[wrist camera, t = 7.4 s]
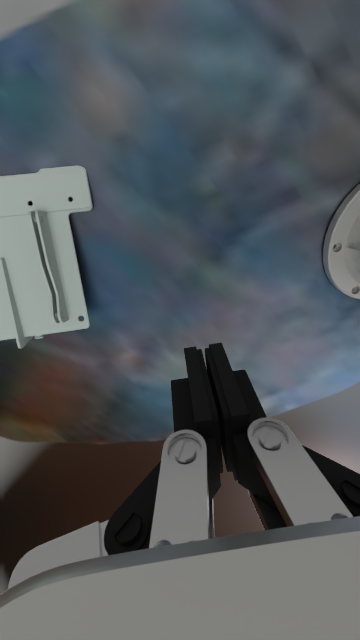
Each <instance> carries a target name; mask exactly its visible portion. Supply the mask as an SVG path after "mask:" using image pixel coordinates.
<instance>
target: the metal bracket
mask: <svg viewBox="0 0 360 640" xmlns="http://www.w3.org/2000/svg"><path fill="white" fill-rule="evenodd" d="M70 197H72V198H73V201H72V202H69V198H70ZM30 201H32V202H33V205H32V206H29V202H30ZM92 208H93V205H92V199H91V194H90V188H89V182H88V177H87V172H86V170H85V168H83V167H81V166H68V167H57V168H46V169H40V170H39V172H37V173H30V174H20V175H9V176H0V340H6V339H14V338H16V341H17V345H18V348H23V347H24V346H25V345H26V344H27V343H28V342H29V341H30V340H31V339H32V338H33V337H34V336H36V337H35V339H39V338H43V337H45V336H44V335H43V334H50V333H57V332H64V331H72V330H79V329H86V328H88V327H89V326H90V323H89V317H88V312H87V307H86V302H85V297H84V292H83V287H82V282H81V277H80V272H79V267H78V262H77V257H76V251H75V246H74V241H73V236H72V231H71V226H70V221H69V215H70V214H71V213H74V212H84V211H90V210H92ZM79 316H83V317H84V321H80V320H79V319H78V318H79Z"/></svg>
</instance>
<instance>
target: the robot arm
mask: <svg viewBox="0 0 360 640" xmlns="http://www.w3.org/2000/svg"><path fill="white" fill-rule="evenodd" d="M323 264H324V269H325V273H326V275H327V277H328V279H329V281H330V282H331V283H332V284H333V286H334V287H335V288H337V289H338V290H339V291H341V292H342V293H344V294H346V295H348V296H350V297H352V298H356V299H360V184H358V185H357V186H356V187H355V188H354V190H353V191H352V192H351V193H350V194H349V195H348V196H347V197H346V198H345V200H344V201H343V202H342V204H341V205H340V207H339V208H338V209H337V211H336V213H335V215H334V217H333V219H332V221H331V223H330V225H329V228H328V231H327V233H326V236H325V241H324V247H323ZM184 353H185V359H186V366H187V373H188V378H184V379H178V380H171V391H172V405H173V420H174V433H173V434H172V435H171V436H169V437H168V439H167V440H166V441H165V443H164V447H163V452H162V459H161V461H160V462H159V463H158V465H157V466H156V467H155V468H154V469H153V470H152V471H151V472H150V473H149V475H148V476H147V477H146V478H145V479H144V480H143V481H142V483H141V484H140V485H139V486H138V487H137V488H136V489H135V490H134V491H133V492H132V494H131V495H130V496H129V497H128V498H127V499H126V500H125V501H124V502H123V504H122V505H121V506H120V507H119V508H118V509H117V510H116V511H115V512H114V514H113V515H112V517H111V518H110V519H109V520H108V521H105V522H103V523H101V524H99V522H98V521H97V522H95V523H92V524H90V525H88V526H86V527H83V528H81V529H79V530H76V531H73V532H71V533H68V534H66V535H64V536H61V537H59V538H56V539H54V540H52V541H49V542H47V543H44V544H42V545H40V546H37V547H35V548H34V549H32V550H31V551H29V552H27V554H26V555H25V556H24V557H23V558H22V559H21V560H20V561H19V562H18V564H17V566H16V568H15V569H14V571H13V573H12V576H11V579H10V582H9V586H8V590H7V591H6V592H4V593H3V594H1V595H0V640H360V474H358V473H356V472H354V471H353V470H350V469H348V468H346V467H345V466H342V465H341V464H338V463H337V462H335V461H333V460H330V459H329V458H326V457H325V456H323V455H321V454H319V453H317V452H315V451H313V450H311V449H309V448H307V447H305V446H303V445H301V444H300V442H299V441H298V440H297V438H296V437H295V435H294V434H293V433H292V431H291V430H290V429H289V428H288V427H287V426H286V424H284V423H282V422H281V421H279V420H277V419H274V418H267V417H266V415H265V413H264V410H263V408H262V406H261V404H260V402H259V399H258V397H257V395H256V393H255V391H254V388H253V386H252V384H251V382H250V379H249V377H248V375H247V373H246V371H245V370H238V371H232V368H231V366H230V363H229V361H228V358H227V356H226V353H225V350H224V348H223V345H222V343H216V344H210V345H209V348H205V357H206V366H205V362H204V358H203V354H202V350H201V349H198V350H197V349H196V347H190V348H184ZM206 367H207V370H206ZM221 448H222V452H223V456H224V460H225V464H226V469H227V472H231V471H233V475H234V479H235V480H238V483H239V484H241V485H242V486H243V487H245V488H246V489H248V492H249V495H250V498H251V500H252V503H253V505H254V507H255V509H256V512H257V514H258V516H259V519H260V521H261V523H262V525H263V528H264V531H258V532H251V533H245V534H238V535H231V536H225V537H218V538H214V513H213V497H214V496H215V494H216V493H217V491H218V490H219V488H220V486H221V483H220V473H223V465H222V452H221Z"/></svg>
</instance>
